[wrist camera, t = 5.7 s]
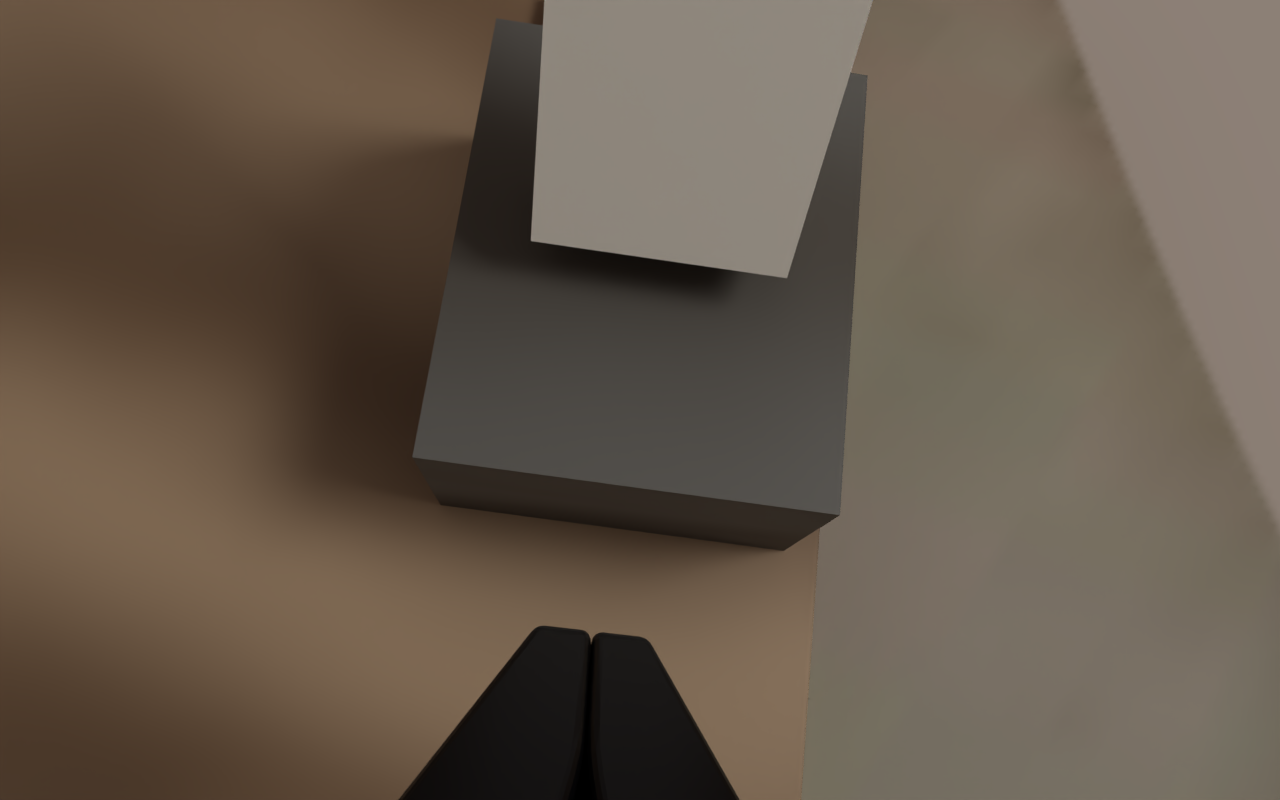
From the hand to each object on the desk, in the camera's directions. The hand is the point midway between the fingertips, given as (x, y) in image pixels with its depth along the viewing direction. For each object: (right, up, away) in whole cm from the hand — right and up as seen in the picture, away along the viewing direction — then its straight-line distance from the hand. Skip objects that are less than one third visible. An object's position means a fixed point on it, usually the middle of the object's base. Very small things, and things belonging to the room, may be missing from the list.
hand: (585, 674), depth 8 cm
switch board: (-7, +3, +8) cm, 11 cm away
